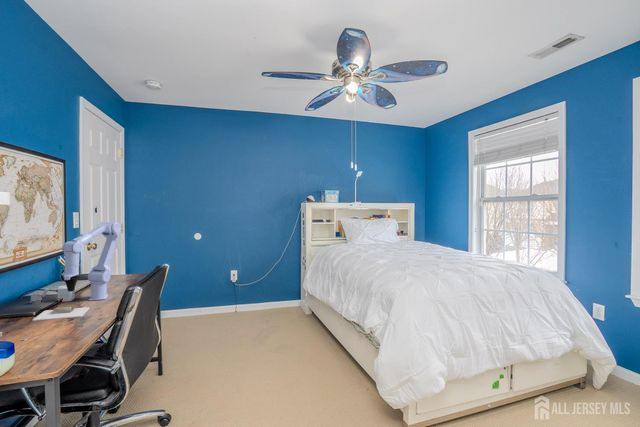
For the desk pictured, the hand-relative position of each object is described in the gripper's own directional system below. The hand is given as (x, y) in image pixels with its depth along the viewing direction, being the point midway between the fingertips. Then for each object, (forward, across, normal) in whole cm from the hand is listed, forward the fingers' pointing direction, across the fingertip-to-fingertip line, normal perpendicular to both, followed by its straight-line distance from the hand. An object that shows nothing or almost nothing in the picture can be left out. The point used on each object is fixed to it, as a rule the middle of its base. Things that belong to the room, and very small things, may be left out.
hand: (71, 291), depth 157 cm
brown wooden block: (+7, +3, 0) cm, 7 cm away
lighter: (+9, -12, -16) cm, 22 cm away
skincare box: (+9, -16, -6) cm, 19 cm away
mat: (+8, +11, 0) cm, 14 cm away
